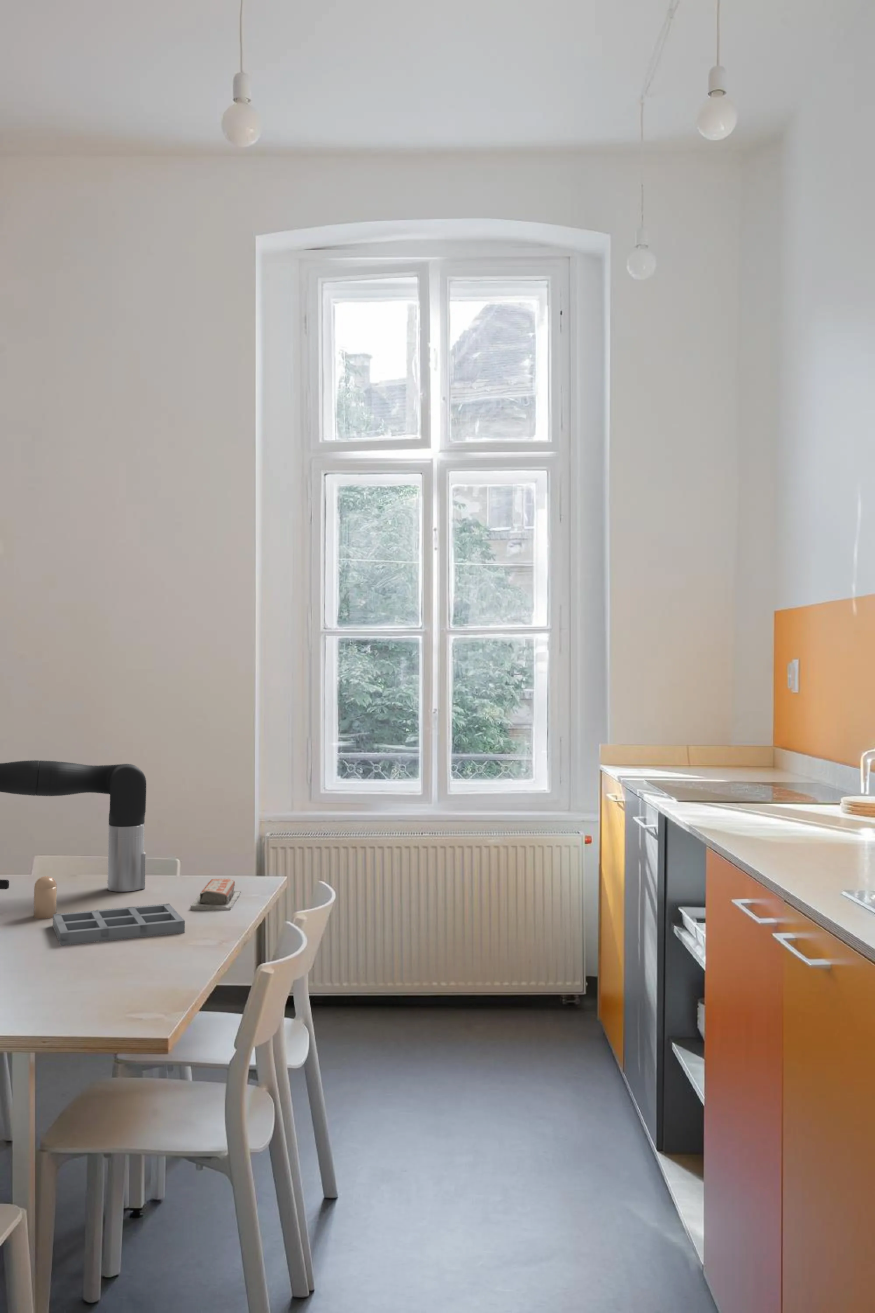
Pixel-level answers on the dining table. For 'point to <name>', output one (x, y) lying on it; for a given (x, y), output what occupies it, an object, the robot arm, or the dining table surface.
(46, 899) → the tan domed cylinder
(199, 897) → the packaged product
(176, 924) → the grey compartment tray
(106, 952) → the dining table surface
